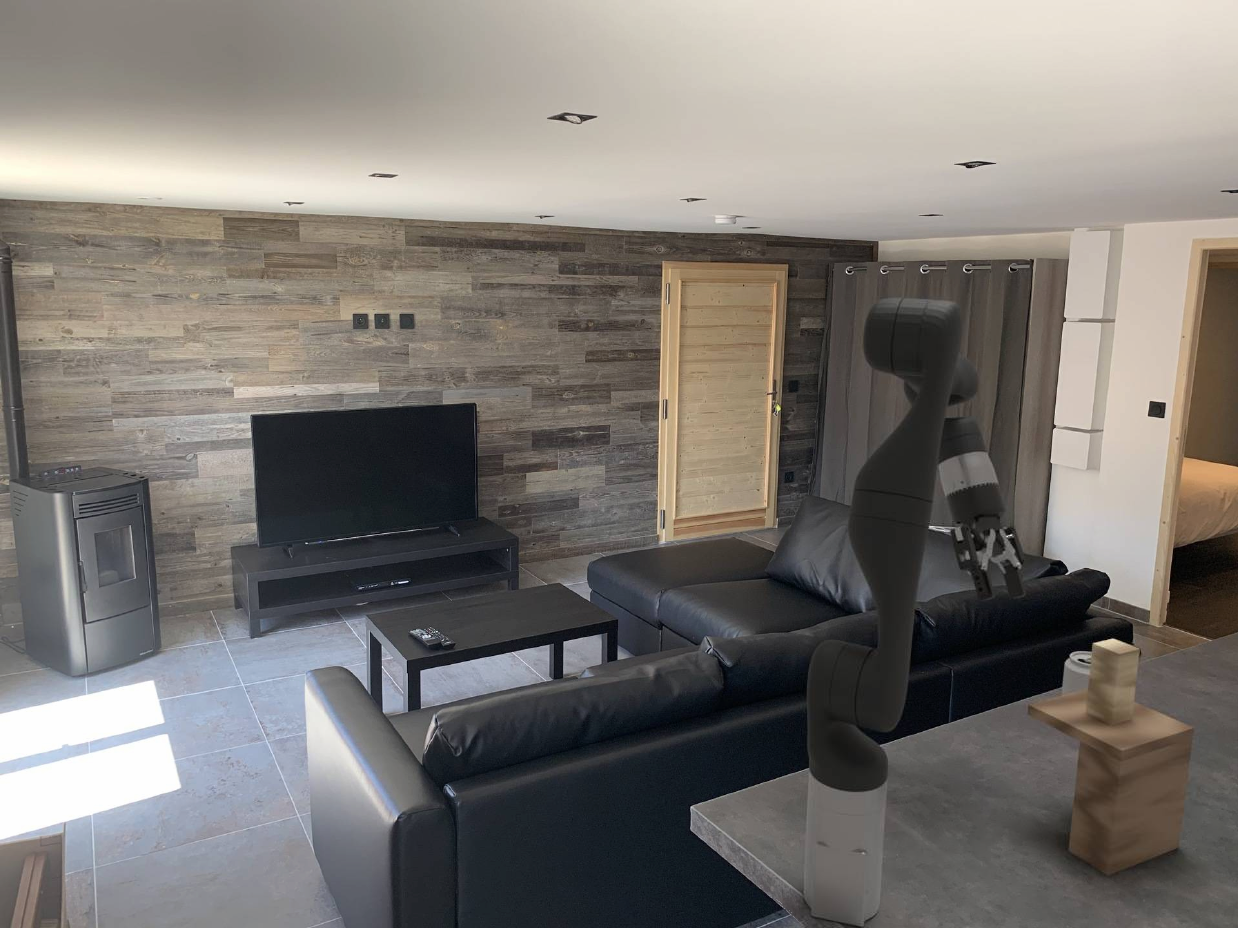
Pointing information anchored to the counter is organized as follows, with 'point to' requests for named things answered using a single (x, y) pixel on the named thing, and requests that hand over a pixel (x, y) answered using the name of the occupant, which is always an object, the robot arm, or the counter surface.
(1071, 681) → the can
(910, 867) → the counter surface
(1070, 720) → the walnut shelf
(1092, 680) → the oak block
